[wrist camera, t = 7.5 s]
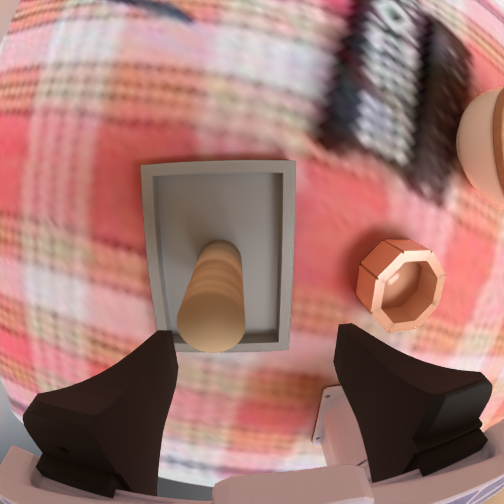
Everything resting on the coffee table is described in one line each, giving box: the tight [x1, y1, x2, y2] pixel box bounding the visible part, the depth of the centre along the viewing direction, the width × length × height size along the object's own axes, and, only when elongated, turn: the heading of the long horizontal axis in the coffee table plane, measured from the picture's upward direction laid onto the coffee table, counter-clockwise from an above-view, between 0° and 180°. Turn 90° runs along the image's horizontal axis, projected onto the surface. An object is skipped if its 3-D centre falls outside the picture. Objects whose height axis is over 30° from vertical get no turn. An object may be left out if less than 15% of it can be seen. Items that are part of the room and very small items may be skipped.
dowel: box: [177, 240, 246, 353], centre depth 17 cm, size 3×3×9 cm
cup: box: [356, 239, 445, 333], centre depth 21 cm, size 7×7×3 cm
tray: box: [141, 160, 296, 352], centre depth 21 cm, size 14×10×2 cm
